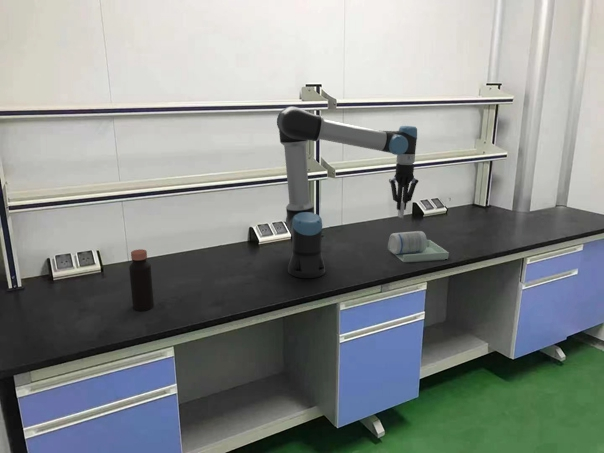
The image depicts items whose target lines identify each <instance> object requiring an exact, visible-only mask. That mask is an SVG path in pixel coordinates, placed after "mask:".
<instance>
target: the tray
mask: <svg viewBox="0 0 604 453" xmlns="http://www.w3.org/2000/svg"><path fill="white" fill-rule="evenodd" d="M387 250H388V251H389V252H391V250H390V247H389V241H388V242H387ZM393 255H394V257H395V256H396V258H398V259H399V260H400V261H402V262H403V263H404V264H405V263H415V262H430V261H431V262H432V261H444V260H445V259H447V260H449V256H450V252H449V251H447V250H446V249H444V248H443V247H442V246H440V245H438V244H437V243H436V242H434V241H432V240H431V239H427V247H426V250H425V251H422V252H415V253H404V254H393Z"/></svg>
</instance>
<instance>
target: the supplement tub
mask: <svg viewBox="0 0 604 453" xmlns="http://www.w3.org/2000/svg"><path fill="white" fill-rule="evenodd" d="M427 240H428V239H427V235H426V233H425V232H424V231H422V230H416V231H414V230H413V231H405V232H404V231H402V232H395V233H394V232H393V233H391V234H390V236H389V239H388V242H389V247H390V250H391V251H390V250H389V251H390V253H392V254H393V255H394V254H404V253H415V252H422V251H425V250H426V247H427Z"/></svg>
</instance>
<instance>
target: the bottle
mask: <svg viewBox="0 0 604 453" xmlns="http://www.w3.org/2000/svg"><path fill="white" fill-rule="evenodd" d="M147 254H148V253H147V250H145V249H140V248H139V249H135V250H132V251H131V252H130V258H131V262H132V263H131V264H130V265H129V268H128V269H129V279H130V288H131V289H130V290H131V301H132V309H133V310H135V311H136V312H145V311H146V312H147V311H149V310H151V309H152V308H154V305H155V304H154V303H155V302H154V292H153V277H152V268H151V267H152V266H151V264H150V263H149V262H148V261H147V260H148V255H147Z"/></svg>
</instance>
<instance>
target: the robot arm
mask: <svg viewBox="0 0 604 453" xmlns="http://www.w3.org/2000/svg"><path fill="white" fill-rule="evenodd" d="M276 125H277V126H276V127H277V128H278V133H279V142H280V144H281V145H283V146H284V156H285V168H286V169H285V170H286V180H287V182H286V183H287V191H288V201H289V202H288V204H287V205H286V207H285V209H286V218H285V224H286V227H287V229H288V230H289V233H290V234H291V236H292V237H291V238H292V244H291V245H292V254H291V257H290V259H289V262H288V265H287V272H288V274H289V275H291V276H292V277H296V278H298V279H299V278H301V279H314V278H319V277H321V276H323V275H325V272H326V266H325V262H324V258H323V256H322V238H323V237H322V236H323V221H322V217H321V216H320V215H319V214H317V213H315V207H314V206H315V205H314V203H313V202H311V201H310V200H311V199H310V188H309V187H310V186H309V175H308V162H307V148H306V147H307V146H306V144H307V143H308V142H309V141H311V142H318V141H319V140H321V141H327V142H332V143H338V144H342V145H343V144H344V145H346V146H353V147H359V148H363V149H370V150H374V151H379V152H380V151H381V152H384V153H390V154H392V155H394V156H395V155H396V162H397V163H396V164H395V174H394V177H392V178H389V179H388V182H389V184H390V187H391V188H390V189H391V195H392V196H391V197H392V200H393V202H395V203H396V210H397V217H398V218H400V219H404V215H405V214H404V213H405V211H406V209H407V204H408V203H409V202H411V201H412V199H413V195H414V192H415V190H416V186H417V184H418V183H419V180H418V179H417V178H415V175H414V171H415V162H416V161H415V160H416V150H417V142H418V141H417V140H418V128H417V127H416V126H411V125H401V126H399V128H398V130H377V129H373V128H369V127H364V126H359V125H352V124H348V123H343V122H338V121H333V120H329V119H324V117H323V116H322V115H318V114H315V113H311V112H309V111H308V110H307V111H306V110H304V109H302V108H301V107H298V106H287V107H285V108H283V109H282V110H281V111H280V112H279V114H278V115H277V119H276ZM396 183H397V185H396Z"/></svg>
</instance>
